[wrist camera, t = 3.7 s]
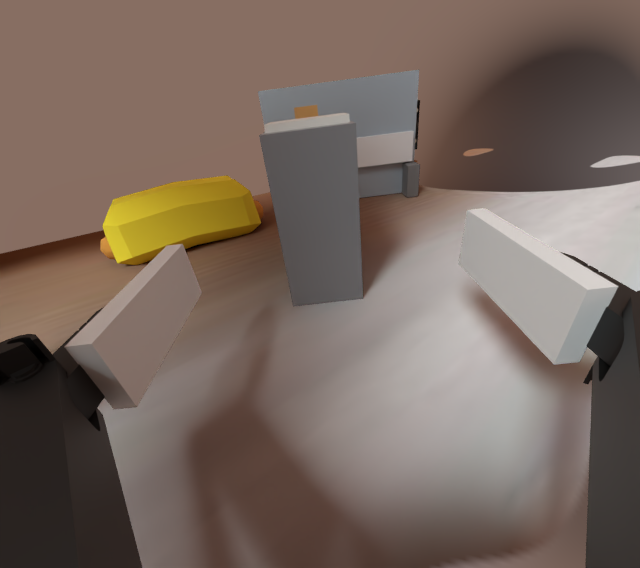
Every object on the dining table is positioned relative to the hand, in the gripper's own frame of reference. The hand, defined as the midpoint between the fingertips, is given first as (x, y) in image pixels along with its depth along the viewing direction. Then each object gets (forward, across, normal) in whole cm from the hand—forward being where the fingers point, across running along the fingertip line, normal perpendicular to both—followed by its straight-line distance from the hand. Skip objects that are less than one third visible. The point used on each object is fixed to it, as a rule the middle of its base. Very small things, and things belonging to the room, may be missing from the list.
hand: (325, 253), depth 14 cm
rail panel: (+29, +4, -6) cm, 29 cm away
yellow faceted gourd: (+20, -15, -6) cm, 26 cm away
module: (+10, 0, -6) cm, 12 cm away
